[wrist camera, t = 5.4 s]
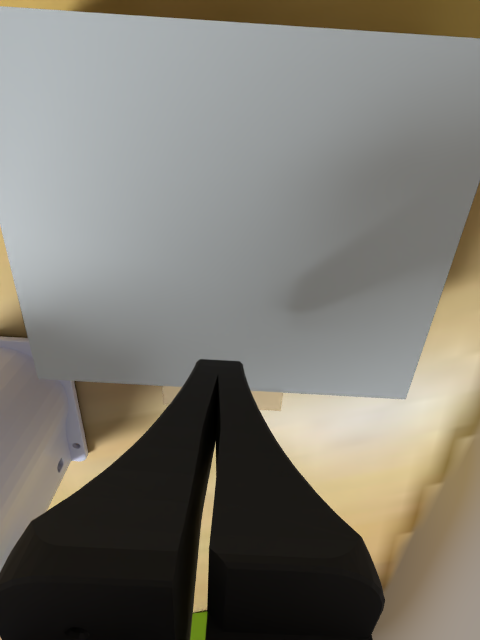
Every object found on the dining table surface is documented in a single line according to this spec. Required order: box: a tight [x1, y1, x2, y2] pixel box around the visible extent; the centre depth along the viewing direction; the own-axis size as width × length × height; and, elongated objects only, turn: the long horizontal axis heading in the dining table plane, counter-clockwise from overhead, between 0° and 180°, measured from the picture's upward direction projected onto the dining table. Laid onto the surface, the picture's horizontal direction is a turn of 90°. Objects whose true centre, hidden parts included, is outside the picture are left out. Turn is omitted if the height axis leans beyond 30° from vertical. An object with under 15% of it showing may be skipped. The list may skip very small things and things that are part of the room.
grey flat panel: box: [0, 6, 480, 411], centre depth 14 cm, size 13×15×1 cm
